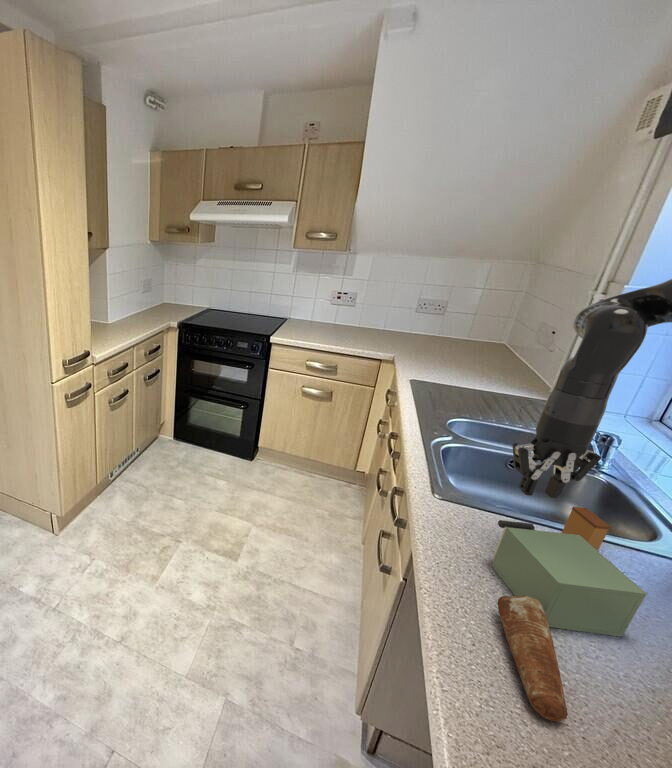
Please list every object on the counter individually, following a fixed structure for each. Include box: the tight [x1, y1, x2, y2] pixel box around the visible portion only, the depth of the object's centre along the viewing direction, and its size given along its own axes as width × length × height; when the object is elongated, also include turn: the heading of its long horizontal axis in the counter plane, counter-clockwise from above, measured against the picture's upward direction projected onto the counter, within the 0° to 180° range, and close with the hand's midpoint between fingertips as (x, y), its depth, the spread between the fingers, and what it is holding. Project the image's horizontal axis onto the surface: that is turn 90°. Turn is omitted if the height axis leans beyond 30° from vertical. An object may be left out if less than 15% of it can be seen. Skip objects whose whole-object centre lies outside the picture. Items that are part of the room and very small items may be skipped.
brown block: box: [561, 506, 611, 552], centre depth 87 cm, size 3×6×8 cm, turn 171°
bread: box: [497, 595, 569, 722], centre depth 63 cm, size 6×19×6 cm, turn 149°
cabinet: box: [491, 527, 648, 638], centre depth 74 cm, size 14×13×10 cm
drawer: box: [492, 519, 536, 560], centre depth 78 cm, size 18×11×8 cm, turn 171°
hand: (538, 493), depth 80 cm, fingers open, 3 cm apart
